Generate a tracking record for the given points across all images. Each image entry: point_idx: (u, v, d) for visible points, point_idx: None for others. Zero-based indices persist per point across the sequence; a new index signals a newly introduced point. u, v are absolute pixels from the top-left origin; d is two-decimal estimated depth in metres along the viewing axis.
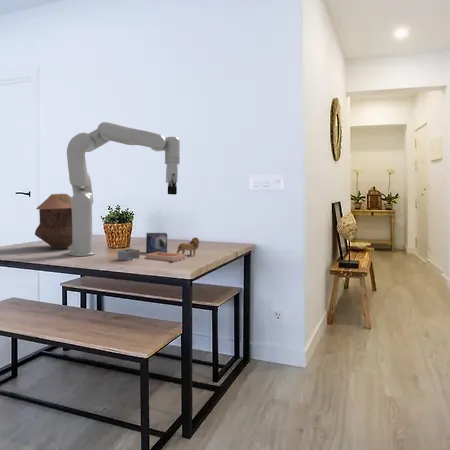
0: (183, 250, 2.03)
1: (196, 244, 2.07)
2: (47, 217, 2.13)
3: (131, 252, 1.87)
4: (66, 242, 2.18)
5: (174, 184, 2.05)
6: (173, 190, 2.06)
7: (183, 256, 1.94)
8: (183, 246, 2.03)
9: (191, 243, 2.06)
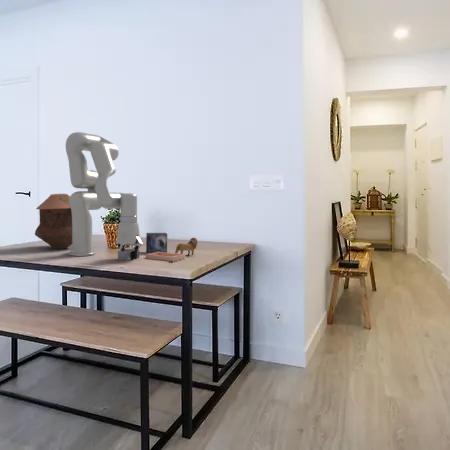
0: (181, 250, 2.02)
1: (194, 244, 2.07)
2: (47, 217, 2.13)
3: (131, 252, 1.87)
4: (66, 242, 2.18)
5: (137, 248, 1.87)
6: (135, 255, 1.88)
7: (183, 256, 1.94)
8: (181, 246, 2.02)
9: (189, 243, 2.06)
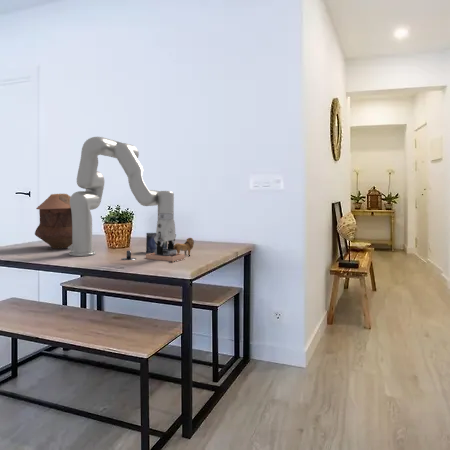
0: (178, 251, 2.01)
1: (191, 244, 2.05)
2: (47, 217, 2.13)
3: None
4: (66, 242, 2.18)
5: None
6: None
7: (183, 256, 1.94)
8: (178, 247, 2.01)
9: (186, 243, 2.04)
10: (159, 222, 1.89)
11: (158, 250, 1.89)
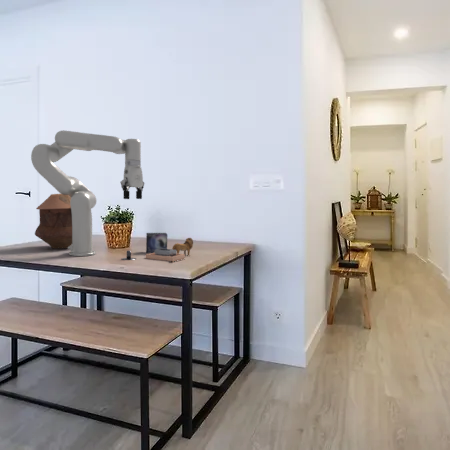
0: (178, 251, 2.01)
1: (190, 244, 2.05)
2: (47, 217, 2.13)
3: None
4: (66, 242, 2.18)
5: None
6: None
7: (183, 256, 1.94)
8: (178, 246, 2.01)
9: (185, 243, 2.04)
10: (126, 168, 1.98)
11: (124, 194, 1.97)
